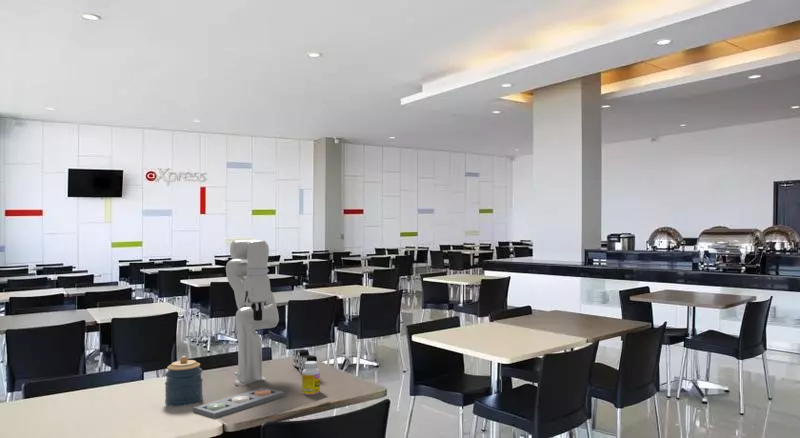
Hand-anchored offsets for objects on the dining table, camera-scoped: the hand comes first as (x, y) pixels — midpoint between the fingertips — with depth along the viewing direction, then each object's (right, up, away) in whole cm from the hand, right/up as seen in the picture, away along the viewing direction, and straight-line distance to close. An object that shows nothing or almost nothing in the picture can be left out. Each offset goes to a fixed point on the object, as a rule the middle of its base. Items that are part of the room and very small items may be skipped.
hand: (257, 320), depth 216 cm
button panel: (-2, -28, -16) cm, 33 cm away
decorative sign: (+12, -30, +34) cm, 47 cm away
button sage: (-8, -28, -24) cm, 38 cm away
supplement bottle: (+21, -29, -4) cm, 36 cm away
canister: (-24, -29, -11) cm, 39 cm away
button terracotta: (+4, -28, -8) cm, 30 cm away
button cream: (-2, -28, -16) cm, 32 cm away
